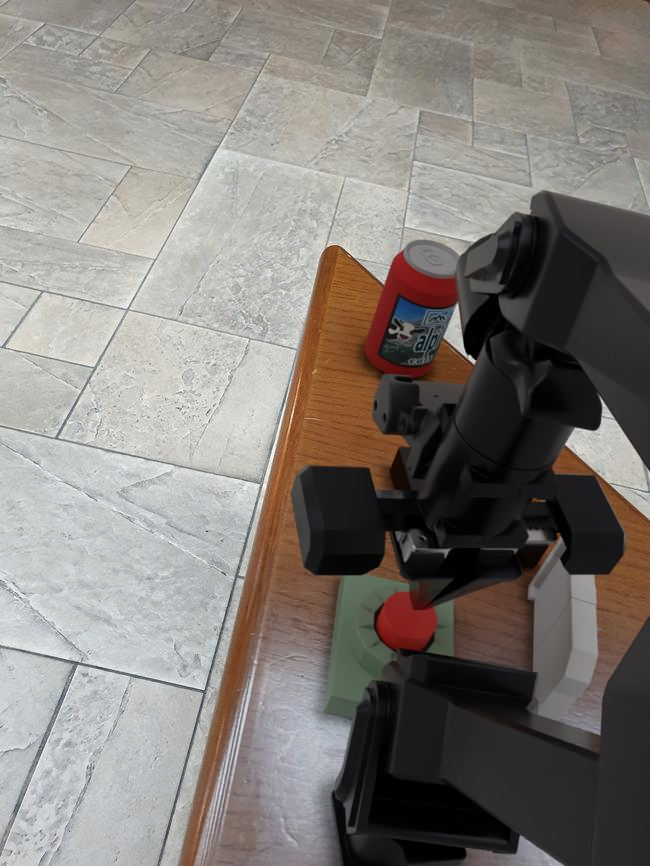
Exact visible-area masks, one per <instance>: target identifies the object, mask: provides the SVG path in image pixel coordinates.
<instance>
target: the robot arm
mask: <svg viewBox="0 0 650 866" xmlns="http://www.w3.org/2000/svg"><path fill="white" fill-rule="evenodd" d="M529 210H530V213H529V214H527V213H524V212H519V211H515V212H513V213H512V214H511V215H510V216H508V218H507V219H506V220H505V221H504V222H503V223H502V224H501V226H499V227H498V228H497V230H496V231H495V232H492V233H491V232H490V233H489V234H487V235H484V236H483V237H481V238H479V239H477V240H476V241H475V242H473V243H472V244H471V245H469V246H468V248H467V249H466V250H465V251H464V252H463V253H461V254H460V255H459V256H460V258H459V260H458V262H457V265H456V270H455V283H456V291H457V298H458V302H457V305H458V313H459V314H458V315H459V322H460V330H461V336H462V345H463V349H464V353H465V354H466V355H468V356H470V357H471V358H472V359H473V360H474V361H475V362H474V365H473V367H472V369H471V371H470V372H469V376H468V378H467V380H466V382H465V383H459V382H457V383H456V382H441V381H427V380H414V378H412V377H411V376H410V375H395V374H387V373H383V374H382V377H381V379H380V381H379V383H378V386H377V388H376V391H375V393H374V398H373V403H372V407H371V417H372V420H373V422H374V424H375V425H376V427H377V428H378V429H379V431H380V432H381V434H382V435H383V436H384V435H386V436H401V437H402V438H403V440H404V442H406V444H407V445H408V447H410V448H411V449H412V450H411V452H410V454H409V457H408V459H407V462H406V466H407V469H408V472H409V475H410V478H411V479H419V482H420V487H419V489H418V490H394V489H384V488H383V489H379V488H376V487H375V483H374V480H373V477H372V473H371V469H370V467H366V466H365V467H364V466H346V465H345V466H344V465H343V466H342V465H319V464H318V465H317V464H315V465H314V464H305V465H303V466H302V468H301V469H300V470H299V471H298V472H297V473H296V474H295V477H294V481H293V484H292V488H291V491H290V497H291V504H292V510H293V517H294V521H295V522H294V523H295V528H296V533H297V538H298V539H297V540H298V543H299V551H300V554H301V555H300V556H301V563H302V566H303V568H304V569H306V570H307V571H308V572H309V573H311V574H312V575H314V576H315V577H317V576H318V577H319V576H321V577H329V576H330V577H331V576H332V577H333V576H335V577H336V576H337V577H340V576H341V577H343V576H362V575H364V574H368V573H370V572H372V571H374V570H377V569H378V568H380V567H381V564H382V562H383V560H384V557H385V555H386V536H387V532H388V534H389V538H390V543H391V545H392V549H393V552H394V556H395V561H396V565H397V567H398V571H399V574H400V576H401V578H403V579H404V580H405V581H407V582H408V584H409V595H410V601H411V604H412V608H413V610H427V609H430V608H432V607H435V606H437V605H440V604H442V603H445V602H448V601H450V600H453V599H454V600H455V599H458V598H460V597H464V596H465V595H470V594H471V593H474V592H477V591H481V590H484V589H486V588H490V587H494V586H496V585H499V584H502V583H506V582H515V581H518V580H519V579H520V578H522V575H523V568H521V565H520V562H519V560H518V557H517V555H516V552H517V550H518V548H523V546H524V544H525V543H532V544H549V545H550V544H551V545H553V544H556V543H557V542H558V540H559V537H558V534H559V535H560V538H561V537H562V540H563V542H564V544H565V546H566V550H565V551H564V553H563V554H562V556H561V557H560V560H561V563H562V565H563V567H564V568H565V570H566V571H567V572H568V573H569V575H594V576H609V575H610V574H611V573H612V572H613V570H614V569H615V568H616V566H617V565H618V563H620V561H621V560H622V558H623V557H624V555H625V553H626V552H627V533H626V532H625V530H624V528H623V526H622V524H621V522H620V520H619V517H618V516H617V515H616V512H615V510H614V508H613V507H612V504H611V503H610V500H609V499H608V497H607V495H606V493H605V490H604V489H603V487H602V485H601V483H600V481H599V479H598V478H597V476H596V475H595V474H583V473H559V472H557V473H555V471H554V469H553V466H554V465H555V463H556V461H557V460H558V458H559V455H560V454H561V452H562V451H563V449H564V448H565V445H566V444H567V442H568V441H569V439H570V437H571V435H572V434H573V432H574V430H575V429H581V430H586V431H590V432H595V431H597V430H599V429H600V427H601V425H602V419H603V418H602V416H603V403H604V405H605V406H606V408H607V409H608V411H609V412H610V414H611V415H612V417H613V418H614V420H615V422H616V423H617V424H618V427H620V429H621V431H622V432H623V433H624V435H625V436H626V438H627V440H628V441H629V443H630V444H631V446H632V448H633V449H634V451H635V452H636V454H637V455H638V457H639V458H640V460H641V461H642V463H643V464H644V465H645V467H646V469H647V470H648V472H649V473H650V214H646V213H642V212H638V211H635V210H630V209H627V208H626V209H625V208H622V207H618V206H613V205H609V204H605V203H601V202H596V201H593V200H589V199H584V198H580V197H575V196H571V195H567V194H563V193H559V192H555V191H550V190H546V189H542V190H540V191H538V192H536V193H535V194H534V195H532V196H531V198H530V204H529ZM602 401H603V402H602ZM534 499H536V500H537V501H533V500H534ZM538 675H539V674H538V672H533V670H532V671H531V670H526V669H519V668H518V667H517V666H514V665H509V664H503V663H502V664H501V663H497V662H491V661H490V662H489V661H483V660H478V659H473V658H472V659H471V658H465V657H460V656H459V657H458V656H454V657H453V656H447V655H441V654H435V653H428V652H422V651H416V650H410V649H404V648H397V652H396V661H394V660H392V661H390V662H389V663H387V664H386V665H385V666H384V668H383V669H382V679H383V680H386V681H379V680H371V681H370V683H369V685H368V687H365V689H364V692H363V695H362V699H361V702H360V704H359V705H357V706H356V707H355V710H354V715H353V719H352V718H351V724H350V728H349V734H348V738H347V743H346V747H345V753H344V756H343V760H342V765H341V768H340V770H339V773H338V775H337V777H336V779H335V780H334V789H332V791H331V794H330V796H329V799H330V806H331V813H332V819H333V825H334V831H335V838H336V844H337V849H338V855H339V856H338V857H339V862H340V866H460V864H462V863H463V862H464V861H465V859H466V858H467V857H468V856H467V855H468V852H467V849H469V850H477V851H486V852H492V853H493V854H498V855H515V856H516V854H517V853H518V849H519V843H520V838H521V837H522V838H523V839H525V840H526V841H528V842H530V843H531V844H532V845H534V846H535V847H537V848H538V849H539V850H540V851H542V852H544V853H545V854H547V855H548V856H549V857H550V858H552V859H554V860H555V861H557V862H558V863H560V865H562V866H650V614H649V615H648V616H647V619H646V620H645V622H644V623H643V625H642V626H641V628H640V630H639V631H638V632H637V634H636V636H635V638H634V639H633V641H632V642H631V644H630V645H629V647H628V649H627V650H626V651H625V653H624V655H623V657H622V658H621V660H620V661H619V662H618V664H617V666H616V667H615V669H614V671H613V672H612V674H611V676H610V678H609V679H608V681H607V682H606V685H605V689H604V691H603V695H602V698H601V713H600V714H601V716H600V734H598V733H595V732H592V731H590V730H586V729H583V728H581V727H577V726H574V725H571V724H567V723H565V722H562V721H560V720H559V721H556V720H553V719H549V718H546V717H543V716H540V715H538V705H539V701H538V700H537V698H536V697H535V692H536V687H537V681H538Z"/></svg>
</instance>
